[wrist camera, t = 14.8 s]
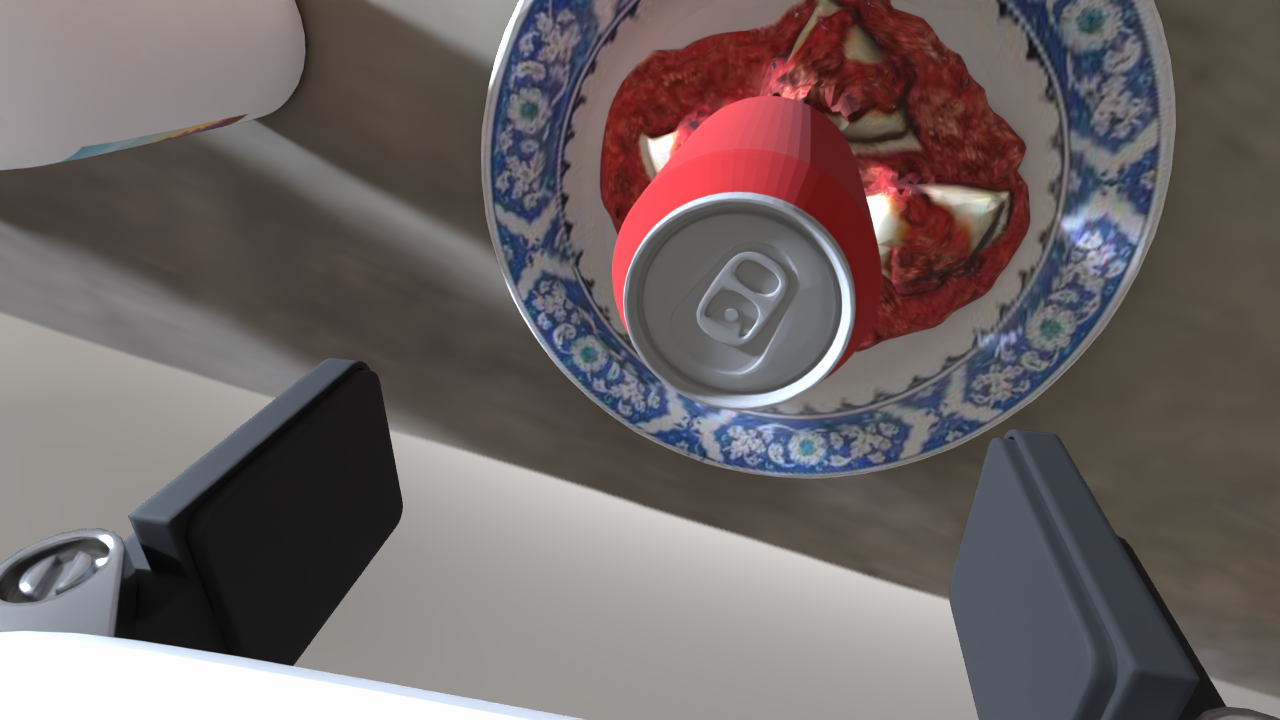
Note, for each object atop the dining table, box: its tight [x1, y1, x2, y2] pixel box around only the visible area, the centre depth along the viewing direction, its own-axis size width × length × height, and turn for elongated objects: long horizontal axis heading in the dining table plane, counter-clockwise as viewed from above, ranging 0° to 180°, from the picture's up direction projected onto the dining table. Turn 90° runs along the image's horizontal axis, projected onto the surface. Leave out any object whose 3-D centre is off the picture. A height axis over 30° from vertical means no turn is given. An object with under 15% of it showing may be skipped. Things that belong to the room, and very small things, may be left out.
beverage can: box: [612, 96, 882, 411], centre depth 22 cm, size 7×7×12 cm
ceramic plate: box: [481, 0, 1176, 479], centre depth 28 cm, size 26×26×3 cm
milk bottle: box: [0, 0, 306, 170], centre depth 23 cm, size 8×8×20 cm
